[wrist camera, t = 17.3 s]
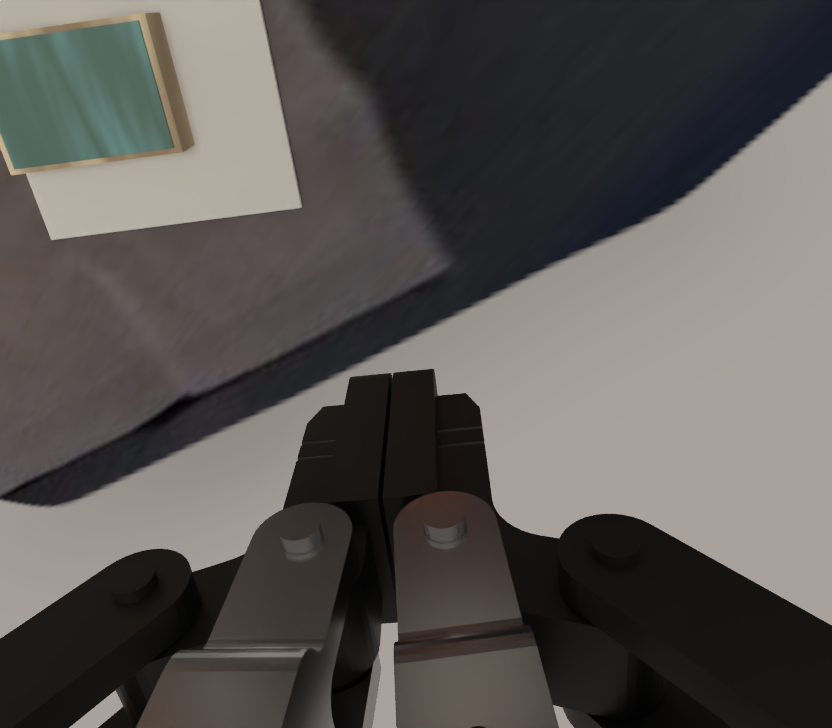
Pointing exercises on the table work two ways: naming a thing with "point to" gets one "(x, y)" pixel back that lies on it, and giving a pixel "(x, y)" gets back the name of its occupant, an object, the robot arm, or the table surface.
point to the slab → (89, 94)
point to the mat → (208, 117)
